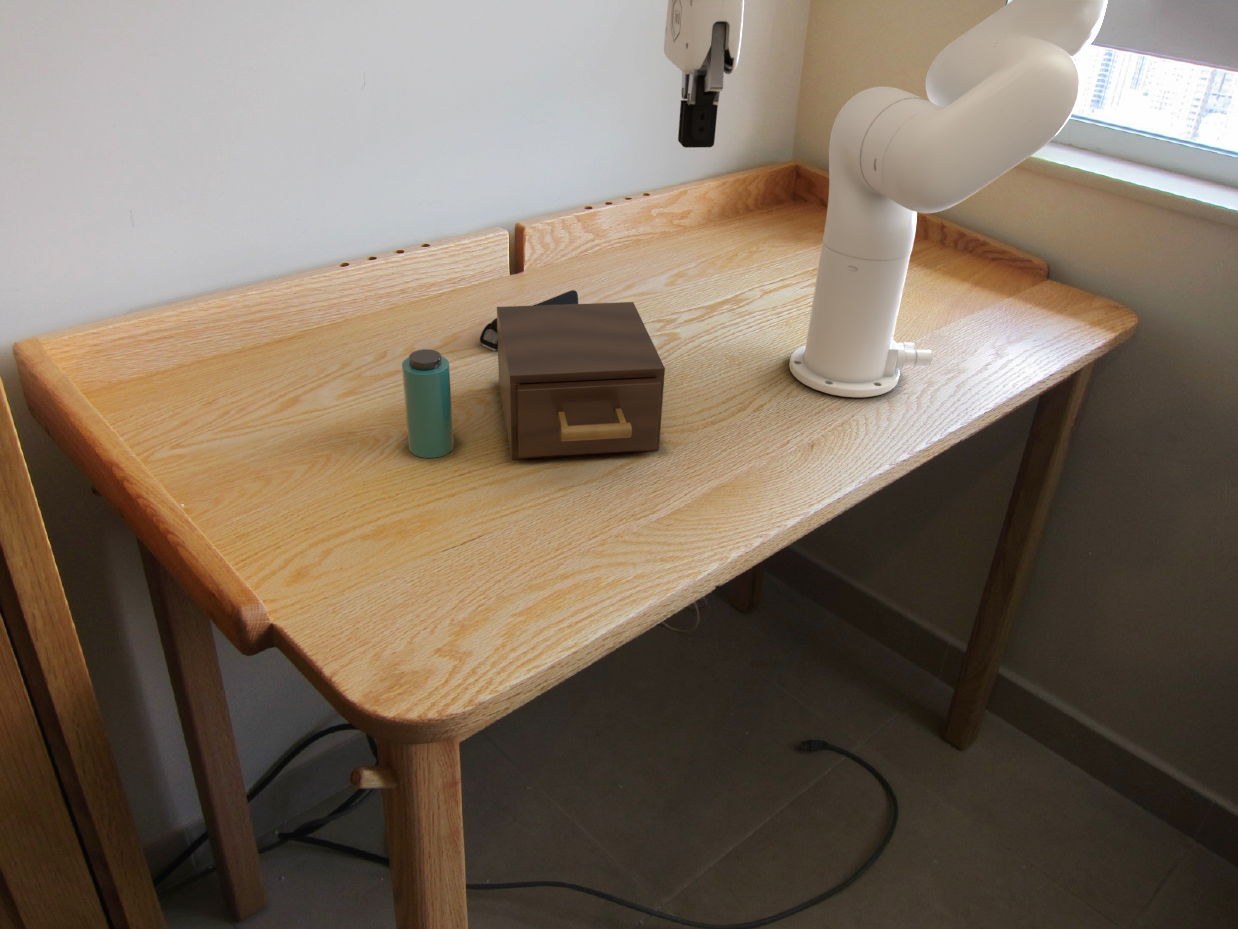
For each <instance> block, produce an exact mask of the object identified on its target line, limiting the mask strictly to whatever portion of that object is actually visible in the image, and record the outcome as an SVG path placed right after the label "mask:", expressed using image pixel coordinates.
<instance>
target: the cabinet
mask: <svg viewBox="0 0 1238 929" xmlns="http://www.w3.org/2000/svg"><path fill="white" fill-rule="evenodd" d="M534 305H535V304H534ZM496 318H497V334H498V349H497V357H498V358H497V363H498V364H497V365H498V366H497V367H498V368H497V369H498V386H499V392H500V399H501V405H502V411H503V418H504V422H505V428H506V434H507V440H508V446H509V447H508V448H509V453H510V458H511V460H526V459H527V460H529V459H545V458H561V457H577V456H593V455H609V454H611V455H612V454H624V453H625V454H626V453H641V452H658V451H659V450H660V441H661V439H660V438H661V427H662V426H661V425H662V416H663V415H662V412H663V400H664V387H665V376H666V375H665V374H666V367H665V365H664V363H663V361H662V359H661V357H660V355H659V353H658V350H657V348H656V346H655V344H654V342H653V340H652V338H651V336H650V334H649V332H648V330H647V328H646V326H645V323H644V322H643V320H642V317H641V315H640V313H639V311H638V308H637V306H636V305H635V302H633V301H627V302H626V301H623V302H599V303H598V302H597V303H594V302H592V303H578V304H564V305H535V306H533V305H514V306H511V305H510V306H509V305H507V306H496ZM643 377H647V378H659V381H660V383H661V389H660V403H659V417H658V430H657V444H656V449H650V450H634V451H618V452H602V453H586V454H570V455H553V456H537V457H521V458H519V456H518V439H517V385H520V383H540V382H561V381H581V380H602V379H622V378H643Z"/></svg>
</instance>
